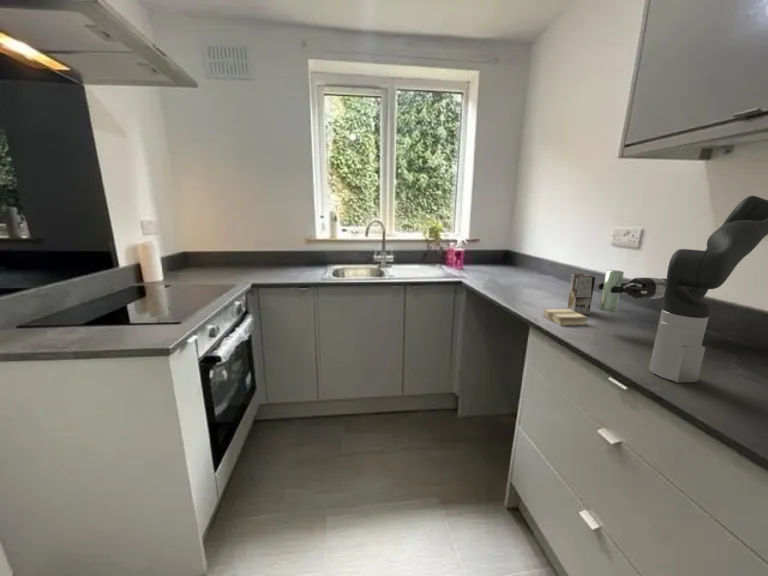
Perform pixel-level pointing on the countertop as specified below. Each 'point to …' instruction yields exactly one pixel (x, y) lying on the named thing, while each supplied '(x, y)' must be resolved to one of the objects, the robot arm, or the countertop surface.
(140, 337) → the countertop surface
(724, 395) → the countertop surface
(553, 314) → the shelf stand
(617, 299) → the pale green cylinder
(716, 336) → the countertop surface
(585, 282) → the coffee box
